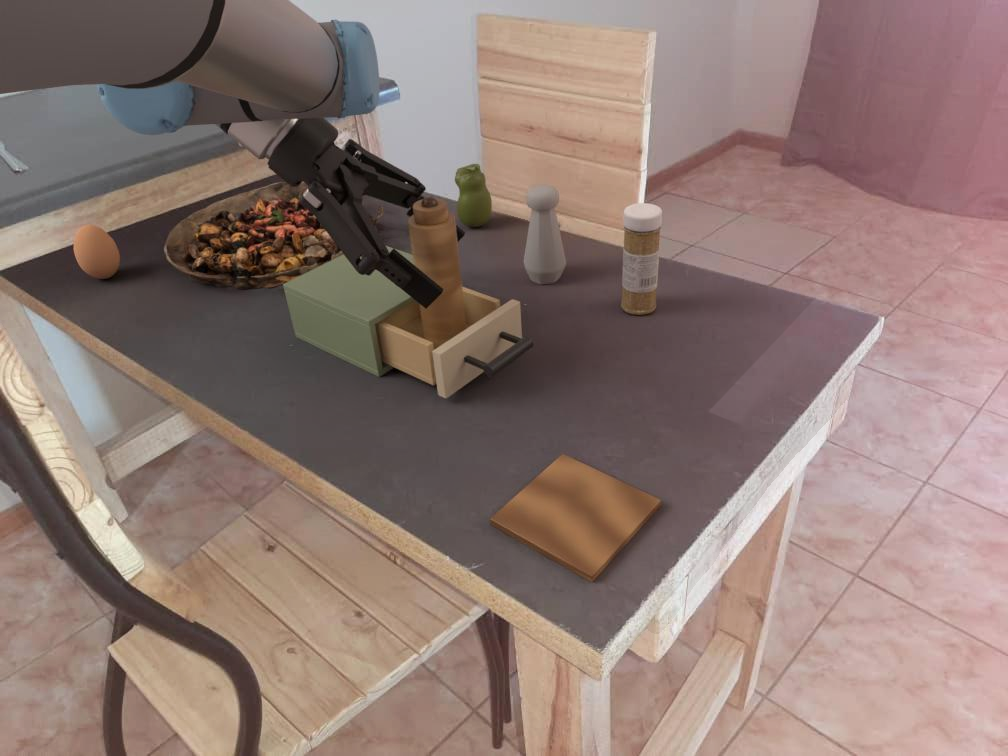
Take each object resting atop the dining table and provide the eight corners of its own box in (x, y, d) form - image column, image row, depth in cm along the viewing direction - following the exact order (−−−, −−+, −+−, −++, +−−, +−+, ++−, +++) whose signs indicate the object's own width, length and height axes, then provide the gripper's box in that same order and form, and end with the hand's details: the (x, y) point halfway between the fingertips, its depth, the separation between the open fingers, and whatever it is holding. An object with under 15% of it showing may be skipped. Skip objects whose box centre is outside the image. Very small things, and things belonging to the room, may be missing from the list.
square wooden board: (592, 582, 64) (592, 576, 63) (490, 524, 70) (489, 518, 69) (660, 506, 70) (661, 499, 70) (562, 459, 76) (562, 453, 76)
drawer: (551, 355, 90) (550, 312, 87) (475, 413, 82) (470, 367, 79) (434, 309, 100) (429, 269, 97) (357, 357, 92) (348, 314, 89)
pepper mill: (447, 362, 88) (429, 210, 78) (416, 349, 91) (394, 200, 80) (476, 343, 91) (462, 193, 81) (445, 330, 94) (428, 184, 83)
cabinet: (463, 323, 99) (457, 270, 95) (379, 377, 90) (368, 321, 86) (380, 290, 108) (371, 240, 103) (295, 337, 99) (282, 284, 94)
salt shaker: (573, 273, 108) (572, 183, 101) (553, 291, 105) (551, 199, 97) (537, 264, 111) (534, 177, 104) (516, 282, 107) (511, 192, 100)
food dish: (418, 264, 116) (411, 216, 111) (192, 330, 105) (173, 280, 100) (345, 185, 141) (337, 143, 136) (157, 231, 130) (141, 188, 125)
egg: (80, 277, 116) (59, 226, 112) (119, 264, 119) (100, 214, 115) (92, 290, 113) (71, 237, 108) (132, 276, 116) (112, 224, 111)
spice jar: (651, 297, 102) (657, 200, 94) (660, 314, 98) (667, 214, 90) (616, 300, 101) (619, 203, 94) (624, 318, 98) (628, 218, 90)
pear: (471, 235, 121) (466, 173, 115) (451, 226, 124) (445, 165, 118) (499, 224, 123) (495, 163, 118) (478, 215, 127) (473, 155, 121)
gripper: (307, 123, 91) (446, 241, 97) (217, 209, 70) (400, 350, 77) (343, 74, 87) (485, 201, 93) (258, 150, 67) (447, 304, 73)
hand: (447, 268), depth 85 cm, fingers open, 13 cm apart
